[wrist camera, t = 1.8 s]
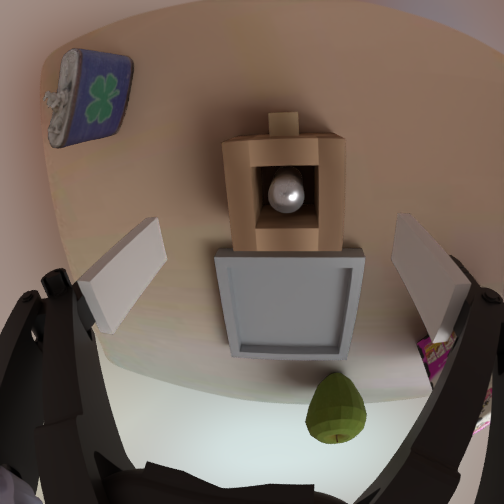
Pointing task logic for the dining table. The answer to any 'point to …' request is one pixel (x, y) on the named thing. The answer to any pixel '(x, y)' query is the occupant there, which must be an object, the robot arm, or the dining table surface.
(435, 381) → the candy bar box
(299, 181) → the silver capsule
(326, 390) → the apple
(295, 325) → the tray
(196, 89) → the dining table surface
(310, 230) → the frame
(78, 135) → the flask
